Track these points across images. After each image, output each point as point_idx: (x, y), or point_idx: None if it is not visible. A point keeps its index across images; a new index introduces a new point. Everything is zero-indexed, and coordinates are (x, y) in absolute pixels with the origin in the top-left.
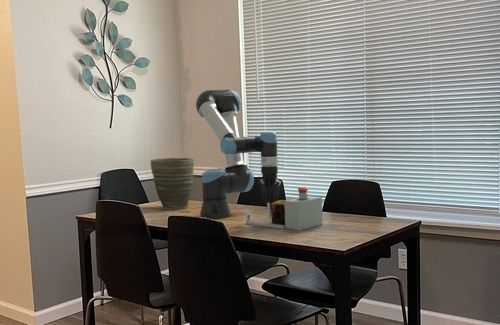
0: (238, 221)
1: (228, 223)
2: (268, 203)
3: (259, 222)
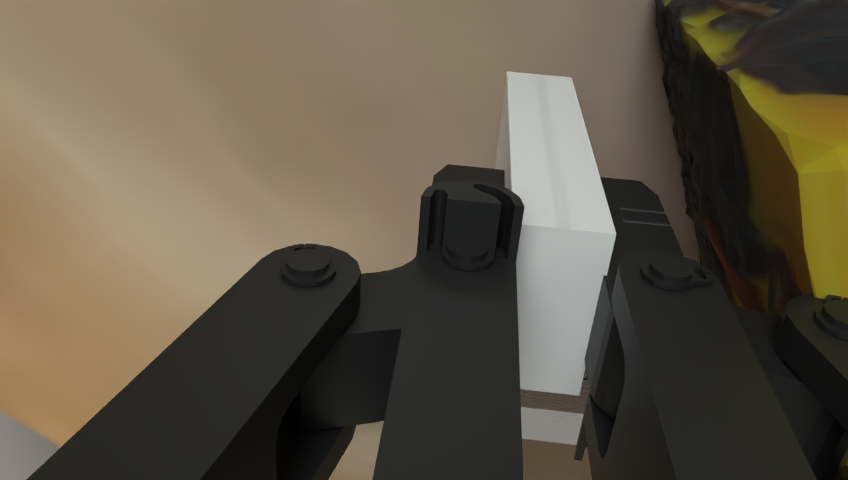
0: (38, 295)
1: (61, 441)
2: (538, 381)
3: (542, 438)
